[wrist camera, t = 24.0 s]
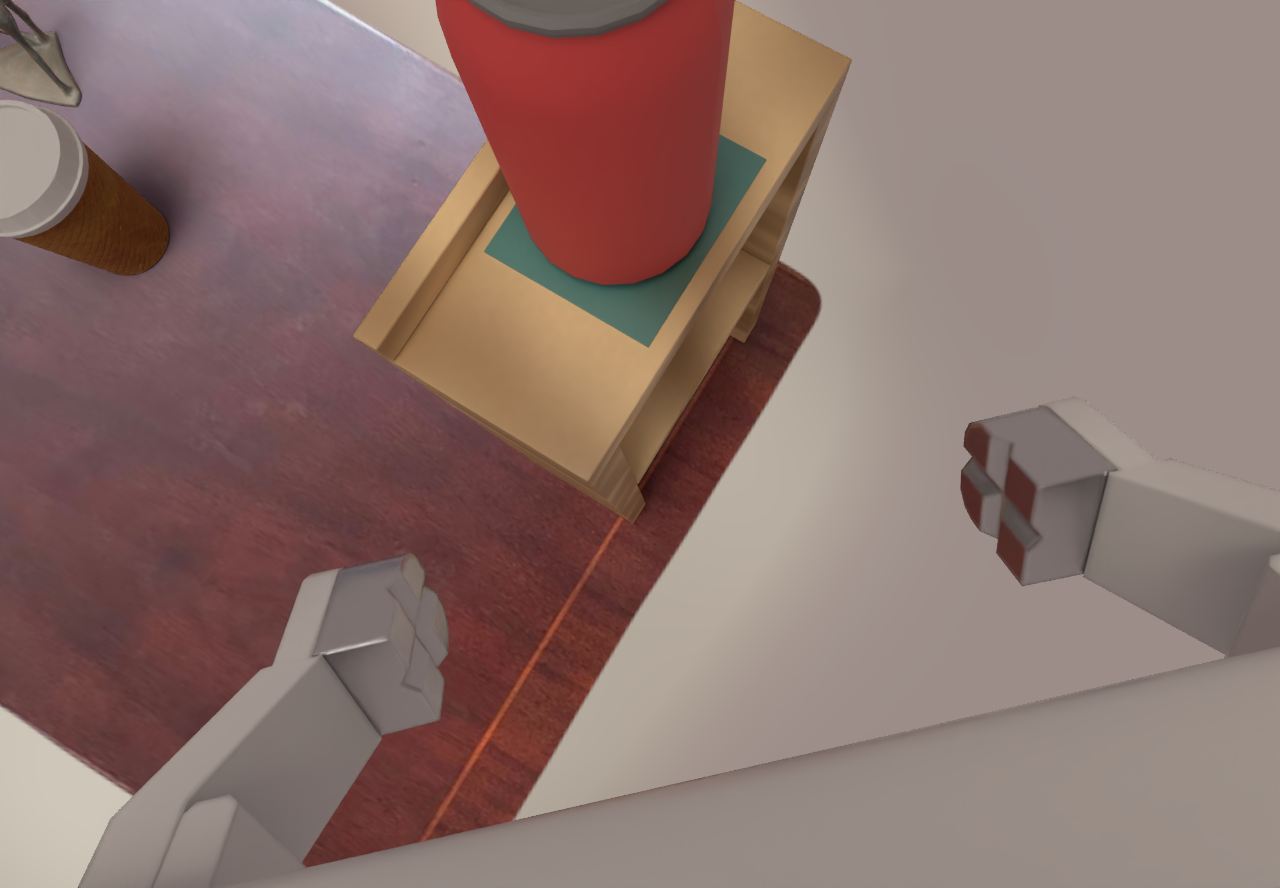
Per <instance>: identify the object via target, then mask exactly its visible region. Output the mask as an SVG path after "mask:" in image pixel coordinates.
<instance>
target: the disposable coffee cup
mask: <svg viewBox="0 0 1280 888" xmlns="http://www.w3.org/2000/svg"><path fill="white" fill-rule="evenodd" d="M0 237H4V238H13V239H16V240H19V241H22V242H25V243H29V244H30V245H33V246H37V247H39V248H42V249H45V250H48V251H51V252H54V253H57V254H60V255H62V256H66V257H68V258H71V259H75V260H77V261H80V262H83V263H86V264H89V265H92V266H95V267H97V268H102V269H103V270H106V271H109V272H112V273H115V274H118V275H125V276H126V275H135V274H139V273H142V272H144V271H146V270H148V269H150V268H151V267H152V266H153V265H154V264H156V263H157V262H158V261H159V259H160V258H161V257H162V256H163V254H164V252H165V250H166V247H167V244H168V240H169V230H168V225H167V222H166V220H165V218H164V217H163V215H162V214H161V213H160V212H159V211H158V210H157V209H156V208H155V207H153V206H152V205H151V204H150V203H149V202H148V201H147V200H146V199H145V198H144V197H142V196H141V195H140V194H139V193H138V192H137V191H136V190H135V189H134V188H133V187H131V186H130V185H129V184H128V183H127V182H126V181H125V180H124V179H123V178H122V177H121V176H119V175H118V174H117V173H116V172H115V171H114V170H113V169H112V168H110V167H109V166H108V165H107V164H106V163H105V162H104V161H103V160H102V159H101V158H100V157H99V156H98V155H96V154H95V153H94V152H93V151H92V150H91V149H90V148H89V147H88V146H86V145H85V144H84V143H83V142H82V141H81V139H80V137H79V136H78V134H77V133H76V131H75V129H74V128H73V126H72V125H71V124H70V123H68V122H67V121H66V120H65V119H64V118H63V117H62V116H60V115H59V114H57V113H56V112H54V111H52V110H49V109H46V108H43V107H40V106H34V105H30V104H28V103H25V102H20V101H15V100H0Z"/></svg>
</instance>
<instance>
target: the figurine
mask: <svg viewBox="0 0 1280 888" xmlns="http://www.w3.org/2000/svg"><path fill="white" fill-rule="evenodd" d="M5 5H6V6H7V7H8V8H10V9H11V10H12V11H13V12H15V13H16V14H17V15H18V16H19V17H20V18H21V19H22V20H23V21H24V22H25V23H26V24H27V25H28V26H30V28H31V29H32V30H33V31H35V33H36V34H31V33H26V32H21V31H19V29H18V26H17V24H16V21H15V19H14V18H13V16H12V14H11V13H10V11H9V10H8V9H7V8H6V7H5ZM0 33H3V34H6V35H10V36H11V37H12V38H13V39H15V40H16V41H17V42H18V43H16V44H13V45H10V46H7V47H5V48H3V49H1V50H0V88H1V89H4V90H6V91H9V92H11V93H14V94H16V95H19V96H22V97H25V98H28V99H31V100H37V101H41V102H46V103H50V104H56V105H61V106H68V107H77V106H78V105H79V102H80V100H81V92H80V90H79V88H78V86H77V84H76V83H75V81H74V80H73V78H72V76H71V74H70V72H69V70H68V68H67V66H66V63H65V61H64V58H63V55H62V51H61V48H60V44H59V41H58V38H57V35H56V33H55V32H53V31H50V32H47V33H43V32H42V31H41V30H40V29H39V28H38V27H37V26H36V25H35V24H34V23H33V21H32V20H31V19H30V17H29V15H28V14H27V13H26V12H25V11H23V10H22V9H21V8H19V7H18V6H17V5H15V4H14V3H13V2H12V1H11V0H0Z"/></svg>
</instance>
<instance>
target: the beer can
mask: <svg viewBox="0 0 1280 888" xmlns="http://www.w3.org/2000/svg"><path fill="white" fill-rule="evenodd" d="M734 3H735V0H436V7H437V15H438V19H439V22H440V25H441V28H442V30H443V33H444V36H445V39H446V42H447V45H448V48H449V50H450V53H451V56H452V59H453V61H454V63H455V65H456V68H457V70H458V72H459V75H460V77H461V79H462V82H463V84H464V86H465V88H466V91H467V93H468V95H469V98H470V100H471V102H472V104H473V107H474V109H475V111H476V114H477V116H478V118H479V120H480V123H481V125H482V127H483V130H484V132H485V134H486V136H487V139H488V141H489V143H490V146H491V148H492V150H493V152H494V155H495V157H496V159H497V162H498V164H499V166H500V168H501V171H502V173H503V175H504V178H505V180H506V182H507V184H508V187H509V189H510V191H511V194H512V196H513V198H514V200H515V203H516V205H517V207H518V210H519V212H520V214H521V216H522V219H523V221H524V223H525V226H526V228H527V230H528V232H529V235H530V237H531V239H532V240H533V242H534V243H535V244H536V245H537V247H538V248H539V249H540V250H541V252H542V253H543V254H544V255H545V257H546V258H547V259H548V260H549V261H550V262H551V263H553V264H554V265H556V266H558V267H559V268H561V269H562V270H564V271H565V272H567V273H568V274H570V275H571V276H573V277H576V278H579V279H583V280H587V281H591V282H595V283H598V284H602V285H608V284H631V283H636V282H639V281H642V280H644V279H647V278H650V277H653V276H656V275H658V274H661V273H663V272H664V271H666V270H667V269H668V268H670V267H671V266H672V265H674V264H675V263H676V262H678V261H679V260H680V259H682V258H683V257H684V256H686V255H687V253H688V252H689V251H690V249H691V248H692V246H693V245H694V243H695V242H696V241H697V239H698V238H699V236H700V235H701V233H702V232H703V230H704V227H705V224H706V220H707V217H708V213H709V210H710V207H711V203H712V194H713V186H714V177H715V168H716V159H717V151H718V142H719V133H720V125H721V116H722V107H723V98H724V90H725V81H726V72H727V64H728V55H729V46H730V37H731V29H732V20H733V11H734Z"/></svg>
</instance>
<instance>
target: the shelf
mask: <svg viewBox="0 0 1280 888" xmlns="http://www.w3.org/2000/svg"><path fill="white" fill-rule="evenodd" d="M851 61H852V60H851V59H850V58H848V57H846V56H844V55H842V54H840V53H838V52H836V51H834V50H832V49H830V48H828V47H826V46H824V45H822V44H821V43H818V42H817V41H815V40H813V39H811V38H809V37H807V36H805V35H803V34H801V33H799V32H797V31H795V30H793V29H791V28H789V27H787V26H785V25H783V24H781V23H779V22H777V21H775V20H773V19H771V18H769V17H767V16H765V15H763V14H761V13H760V12H757V11H756V10H754V9H752V8H750V7H748V6H746V5H744V4H742V3H740V2H738V1H736V0H735V3H734V11H733V20H732V29H731V37H730V46H729V55H728V64H727V72H726V81H725V90H724V98H723V107H722V116H721V125H720V133H719V142H718V151H717V159H716V168H715V177H714V186H713V194H712V203H711V207H710V210H709V213H708V217H707V220H706V224H705V227H704V230H703V232H702V233H701V235H700V236H699V238H698V239H697V241H696V242H695V243H694V245H693V246H692V248H691V249H690V251H689V252H688V253H687V255H686V256H684V257H683V258H682V259H680V260H679V261H678V262H676V263H675V264H674V265H672V266H671V267H670V268H668V269H667V270H666V271H664V272H663V273H661V274H658V275H656V276H653V277H650V278H647V279H644V280H642V281H639V282H636V283H631V284H608V285H602V284H598V283H595V282H591V281H587V280H583V279H579V278H576V277H573V276H571V275H570V274H568V273H567V272H565V271H564V270H562V269H561V268H559V267H558V266H556V265H554V264H553V263H551V262H550V261H549V260H548V259H547V258H546V257H545V255H544V254H543V253H542V252H541V250H540V249H539V248H538V247H537V245H536V244H535V243H534V242H533V240H532V239H531V237H530V235H529V232H528V230H527V228H526V226H525V223H524V221H523V219H522V216H521V214H520V212H519V210H518V207H517V205H516V203H515V200H514V198H513V196H512V194H511V191H510V189H509V187H508V184H507V182H506V180H505V178H504V175H503V173H502V171H501V168H500V166H499V164H498V162H497V159H496V157H495V155H494V152H493V150H492V148H491V146H490V143H489V141H488V139H487V141H486V142H485V144H484V145H483V146H482V148H481V149H480V151H479V152H478V154H477V155H476V157H475V158H474V160H473V161H472V162H471V164H470V165H469V167H468V168H467V170H466V171H465V173H464V174H463V176H462V177H461V179H460V180H459V181H458V183H457V184H456V186H455V187H454V189H453V190H452V192H451V193H450V195H449V196H448V197H447V199H446V200H445V202H444V203H443V205H442V206H441V208H440V209H439V211H438V212H437V213H436V215H435V216H434V218H433V219H432V221H431V222H430V224H429V225H428V227H427V228H426V230H425V231H424V232H423V234H422V235H421V237H420V238H419V240H418V241H417V243H416V244H415V246H414V247H413V248H412V250H411V251H410V253H409V254H408V256H407V257H406V259H405V260H404V262H403V263H402V265H401V266H400V267H399V269H398V270H397V272H396V273H395V275H394V276H393V278H392V279H391V281H390V282H389V283H388V285H387V286H386V288H385V289H384V291H383V292H382V294H381V295H380V297H379V298H378V300H377V301H376V302H375V304H374V305H373V307H372V308H371V310H370V311H369V313H368V314H367V316H366V317H365V318H364V320H363V321H362V323H361V324H360V326H359V327H358V329H357V330H356V332H355V333H354V335H353V336H354V338H356V339H357V340H358V341H360V342H361V343H363V344H364V345H366V346H367V347H368V348H370V349H371V350H373V351H374V352H376V353H377V354H378V355H380V356H381V357H383V358H384V359H386V360H387V361H389V362H390V363H391V364H393V365H394V366H396V367H397V368H399V369H400V370H401V371H403V372H404V373H406V374H407V375H409V376H410V377H412V378H413V379H414V380H416V381H417V382H419V383H420V384H422V385H423V386H424V387H426V388H427V389H429V390H430V391H432V392H433V393H435V394H436V395H437V396H439V397H440V398H442V399H443V400H445V401H446V402H447V403H449V404H450V405H452V406H453V407H455V408H456V409H458V410H459V411H460V412H462V413H463V414H465V415H466V416H468V417H469V418H470V419H472V420H473V421H475V422H476V423H478V424H479V425H481V426H482V427H483V428H485V429H486V430H488V431H489V432H491V433H492V434H493V435H495V436H496V437H498V438H499V439H501V440H502V441H504V442H505V443H506V444H508V445H509V446H511V447H512V448H514V449H515V450H516V451H518V452H519V453H521V454H522V455H524V456H525V457H527V458H528V459H529V460H531V461H532V462H534V463H535V464H537V465H539V466H540V467H542V468H544V469H545V470H547V471H548V472H550V473H552V474H553V475H555V476H556V477H558V478H560V479H561V480H563V481H565V482H566V483H568V484H569V485H571V486H573V487H574V488H576V489H578V490H579V491H581V492H582V493H584V494H586V495H587V496H589V497H590V498H592V499H594V500H595V501H597V502H599V503H600V504H602V505H603V506H605V507H607V508H608V509H610V510H611V511H613V512H615V513H616V514H618V515H620V516H621V517H623V518H624V519H626V520H628V521H629V522H631V523H633V524H634V522H635V521H636V519H637V517H638V516H639V514H640V512H641V511H642V509H643V508H644V506H645V504H646V503H645V501H644V498H643V496H642V494H641V492H640V490H639V487H638V485H637V484H639V482H640V480H641V479H642V477H643V475H644V474H645V472H646V471H647V469H648V467H649V466H650V464H651V462H652V461H653V459H654V458H655V456H656V454H657V453H658V451H659V449H660V448H661V446H662V445H663V443H664V441H665V440H666V438H667V436H668V435H669V433H670V432H671V430H672V428H673V427H674V425H675V423H676V422H677V420H678V419H679V417H680V415H681V414H682V412H683V410H684V409H685V407H686V406H687V404H688V402H689V401H690V399H691V397H692V396H693V394H694V393H695V391H696V389H697V388H698V386H699V384H700V383H701V381H702V380H703V378H704V376H705V375H706V373H707V371H708V370H709V368H710V367H711V365H712V363H713V362H714V360H715V358H716V357H717V355H718V354H719V352H720V350H721V349H722V347H723V345H724V344H725V342H726V341H727V339H728V337H729V336H732V337H734V338H736V339H737V340H739V341H741V342H743V343H744V342H745V341H746V339H747V338H748V336H749V334H750V333H751V331H752V329H753V328H754V326H755V324H756V322H757V319H758V316H759V313H760V311H761V308H762V305H763V302H764V300H765V297H766V294H767V291H768V289H769V286H770V283H771V280H772V278H773V275H774V272H775V269H776V267H777V264H778V261H779V259H780V256H781V253H782V250H783V247H784V245H785V242H786V239H787V236H788V234H789V231H790V228H791V225H792V223H793V220H794V217H795V215H796V212H797V209H798V206H799V204H800V201H801V198H802V196H803V193H804V190H805V187H806V184H807V182H808V179H809V176H810V174H811V171H812V168H813V165H814V163H815V160H816V157H817V155H818V152H819V149H820V146H821V144H822V141H823V138H824V135H825V132H826V130H827V127H828V124H829V121H830V118H831V116H832V113H833V110H834V107H835V105H836V102H837V100H838V97H839V94H840V91H841V88H842V86H843V83H844V81H845V78H846V75H847V73H848V70H849V67H850V64H851Z"/></svg>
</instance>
